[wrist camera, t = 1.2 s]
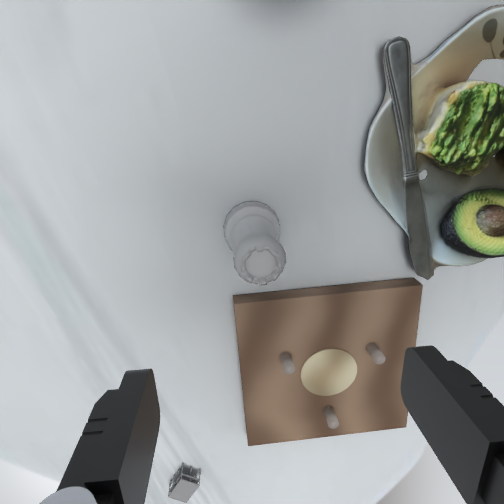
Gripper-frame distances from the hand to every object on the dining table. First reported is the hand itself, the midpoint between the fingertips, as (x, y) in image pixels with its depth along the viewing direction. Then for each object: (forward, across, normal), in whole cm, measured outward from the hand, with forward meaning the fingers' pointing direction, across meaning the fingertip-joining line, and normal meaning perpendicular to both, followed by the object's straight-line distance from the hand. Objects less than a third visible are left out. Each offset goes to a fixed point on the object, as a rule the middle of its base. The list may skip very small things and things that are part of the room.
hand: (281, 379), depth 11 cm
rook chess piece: (+19, 0, +1) cm, 19 cm away
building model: (+19, +8, +28) cm, 34 cm away
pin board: (+18, -7, +14) cm, 24 cm away
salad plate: (+19, -18, -4) cm, 27 cm away
